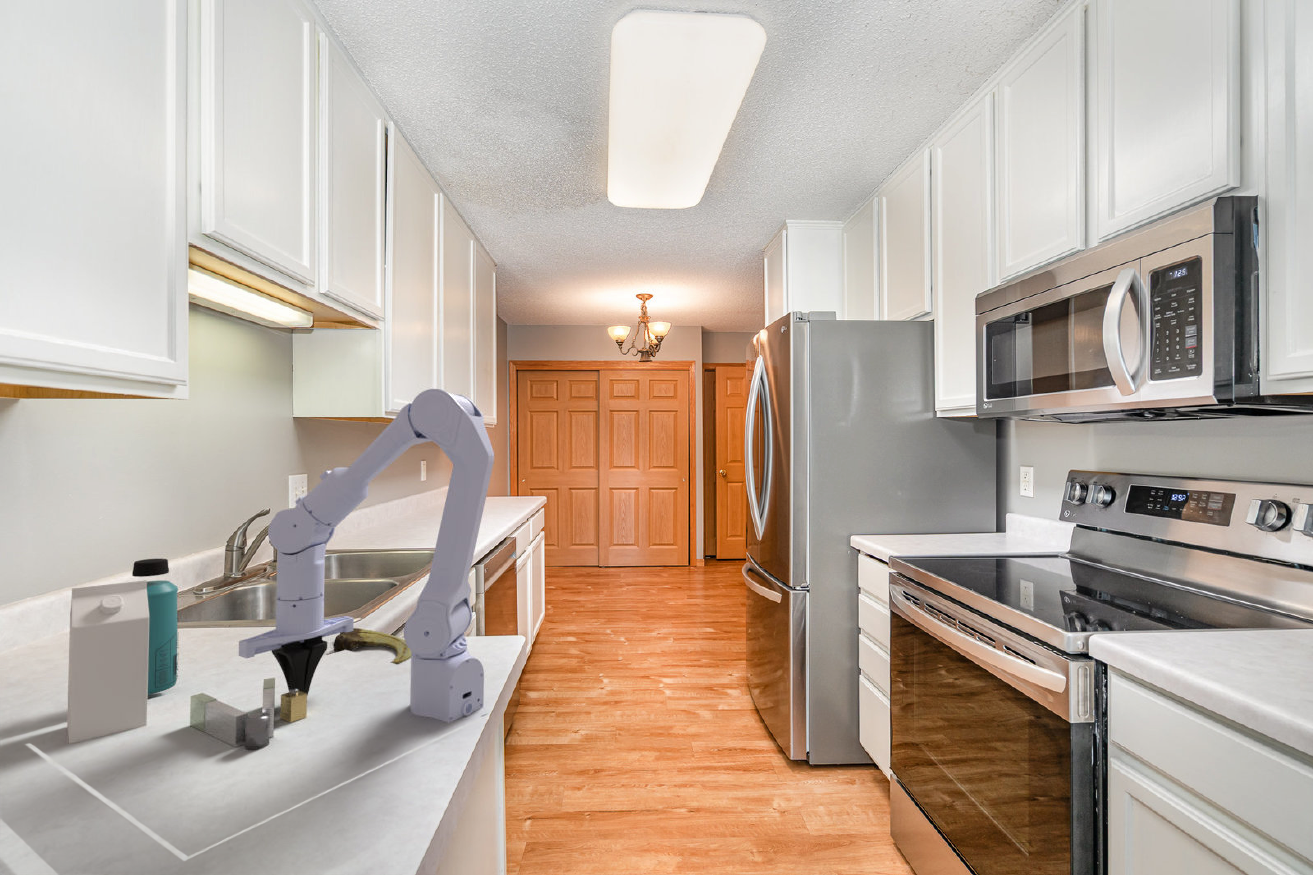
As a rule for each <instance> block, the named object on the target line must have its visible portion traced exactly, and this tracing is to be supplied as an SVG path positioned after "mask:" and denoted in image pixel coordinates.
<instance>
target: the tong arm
mask: <svg viewBox="0 0 1313 875" xmlns="http://www.w3.org/2000/svg"><path fill="white" fill-rule="evenodd" d="M262 686H263V687H262V706H261V707H262V709H261V710H262V712H266V713H269V714H270V736H269V738H273V737H274V735H275V734H274V729H275V728H274V726H275V724H274V722H275V721H274V720H275V705H276V704H275V703H276V702H275V700H276V699H275V697H276V696H275V695H276V677H272V678H271V677H270V678H265V679H263V685H262ZM262 712H261V713H262Z"/></svg>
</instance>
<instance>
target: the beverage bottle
mask: <svg viewBox="0 0 1313 875" xmlns="http://www.w3.org/2000/svg"><path fill="white" fill-rule="evenodd" d="M169 573H170V568H169V560H168V559H167V558H147V559H140V560H136V561H135V562H134V563H133V569H132V573H131V574H132V575H131V576H132V577H137V578H138V577H139V578H142V577H143V578H144V577H155V576H163V575H166V574H167V575H168V574H169ZM178 591H179V588H178V586H177V585H175V584H174V583H172V582H171V581H170V580H150V581H148V580H147V597H148V607H149V654H148V695H147V696H149V695H153V694H158V693H161V692H165V691H166V690H170V689H172V688H173V687H174V686H176V683H177V680H178V678H179V674H178V671H179V668H178V667H179V659H178V656H179V653H180V652H179V651H178V650H179V631H178V630H179V627H178V621H179V618H178Z"/></svg>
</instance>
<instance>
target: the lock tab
mask: <svg viewBox="0 0 1313 875" xmlns="http://www.w3.org/2000/svg"><path fill="white" fill-rule="evenodd" d="M307 700H308V696H307V693H304V692H301V691H298V688H293V689H290V692H289V691H288V692H286V693H285V692H284V693H283V694H281V695H280V714H279V715H280V719H281V720H284V721H285V722H289V723H293V722H297V721H299V720H302V719H304V718H307V711H308V709H307V704H308V701H307Z"/></svg>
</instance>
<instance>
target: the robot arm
mask: <svg viewBox="0 0 1313 875" xmlns="http://www.w3.org/2000/svg"><path fill="white" fill-rule="evenodd" d="M428 442H433V443H435V444H436V445H437V446H439V448H440V449H441V450H442V452H443V453H444V454H445V456H446V457H447V458H448V459H449V461H450V462H451V463H452V471H451V475H450V479H449V485H448V489H447V493H446V497H445V498H446V499H445V502H444V508H443V510H442V516H441V521H440V525H439V530H438V535H437V539H436V544H435V547H434V548H435V549H434V552H433V557H432V562H431V567H430V571H429V576H428V579H427V581H426V583H425V585H424V587H423V589H422V590H421V592H420V594H419V596H418V599H417V604H416V607H415V609H414V611H413V612H412V613H411V615H410V616H409V617H408V618H407V620H406V622H405V624H404V628H403V638H404V639H403V640H405V642H406V644H407V646H408V648H409V649H410V650H411V657H410V687H409V688H410V693H409V695H410V698H409V700H410V701H409V703H410V704H409V710H410V712H411V713H412V714H413V715H416V716H419V717H428V718H432V719H435V720H439V721H441V722H445V723H452V722H455V721H456V720H458V719H461V718H463V717H464V716H467V717H468V716H470V715H471V714H472V713H473V712H476V711H479V710H480V709H482V708H484V698H485V697H484V696H485V694H484V693H485V690H484V688H485V687H484V686H485V684H484V683H485V680H484V679H485V670H484V666H483V664H482V662H481V661H480V660H479V659H478V658H476V657H474V656H473V655H472V654H470V652H469V649H468V642H467V639H466V637H465V633H466V631H467V630H468V629H469V628H470V627H471V624H472V620H473V610H472V607H471V600H470V599H471V593H472V588H471V586H470V582H469V579H470V578H469V577H470V572H471V569H472V564H473V559H474V554H475V550H476V546H477V541H478V537H479V532H480V527H481V522H482V517H483V513H484V510H485V509H484V508H485V504H486V499H487V496H488V495H487V494H488V489H489V485H490V481H491V477H492V471H493V467H494V463H495V452H494V448H493V447H492V443H491V440H490V437H489V434H488V431H487V428H486V425H485V418H484V413H483V412H482V411H481V410H480V409H479V408H478V407H477V406H476V405H475V403H474V402H473V401H472V400H471V399H470V398H469V397H466V396H465V395H462V394H458V393H457V394H455V393H450V392H448V391H445V390H443V389H439V388H429V389H426V390H422V392H421V391H420V393H418V394H417V396H415V398H414V399H413V401H412V402H409V403H407V404H406V405H404V406H403V407H402V408H401V409H400V410H399V412H398V413H397V415H396V416H395V418H394V419H393V420H392V421H391V422H390V423H389V424H388V425H387V426H386V428H384V430H383V431H382V432H380V434H379V435H378V436H377V437H376V438H375V439H374V440H373V441H372V442H371V443H370V445H368V446H367V447H366V448H365V450H364V451H363V452H362V453H361V454H360V455H359V456H358V457H357V458H356V459H355V460H354V461H353V462H352V463H351V465H350V466H348V467H344V466H343V467H342V466H341V467H340V466H339V467H335V468H333V469H332V470H325V471H323V472H322V473H321V474H320V475H319V479H320V480H321V481H319V483H317V484H316V485H315V486H314V488H312V489H311V490H310V491H309V492H308V493H307V494H306V495H305V496H300V497H298V498H297V499H296V500H295V507H294V508H287V509H282V510H280V511H278V512H276V514H275V515H274V517H273V518H272V520H271V521H270V523H269V525H268V530H267V532H268V533H267V536H268V540H269V542H270V544H271V546H272V547H273V548H274V549H275V550H277V551H276V594H275V595H276V597H275V598H276V601H275V604H276V606H275V629H273V630H268V631H267V632H266V631H265V632H264V633H260V634H257V635H254V636H253V637H252V636H251V637H249V638H246V639H242V640H239V641H238V657H241V658H244V659H251V658H254V657H255V655H258V654H259V655H261V654H263V653H267V652H270V651H271V653H272V655H273V656H274V658H275V660H276V661H277V663H278V664H279V666H280V669H281V670H282V673H283V676H284V679H285V682H286V685H287V689H288V692H290V689H293V688H298V691H301V692H304V693H307V697H308V696H309V691H310V689H311V684H312V680H313V678H314V675H315V672H316V670H317V667H318V666H319V663H320V661H321V659H322V658H323V656H324V654H325V653H326V652H327V650H328V641H326V640H323V638H325V637H329V636H333V635H336V634H337V635H338V634H340V633H341V632H351V631H353V628H354V620H355V619H354V617H351V616H348V615H344V616H338V617H334V618H325V577H326V576H325V569H326V568H325V567H326V564H325V563H326V561H325V560H326V551H327V550H326V549H327V545H328V544H329V542H330V541H331V539H332V538H333V536H334V534H335V529H336V528H337V526H338V525H340V524H341V522H343V521H344V520H345V519H346V518H347V517H348V516H349V515H350V514H351V513H352V512H353V511H354V510H355V509H356V508H357V507H359V506H360V505H361V504H362V502H364V501H365V500H366V499H367V498H368V496H369V493H370V491H369V489H370V488H369V486H370V485H369V484H370V483H371V481H373V480H374V479H375V478H376V477H377V476H379V475H380V474H381V473H382V472H383V471H384V470H386V469H387V468H388V467H389V466H391V465H392V463H393V462H395V461H396V460H397V459H399V457H401V456H402V455H403V454H404V453H406V452H407V450H408V449H410V448H411V447H412V446H416V445H420V444H425V443H428ZM487 715H489V713H486V714H483V715H481V716H480V717H481V718H483V717H485V716H487Z"/></svg>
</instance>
